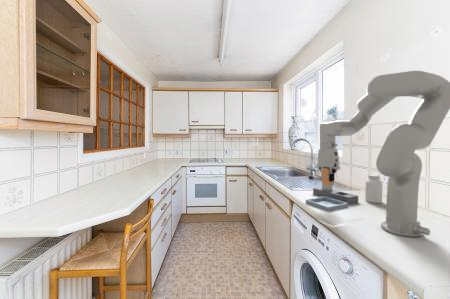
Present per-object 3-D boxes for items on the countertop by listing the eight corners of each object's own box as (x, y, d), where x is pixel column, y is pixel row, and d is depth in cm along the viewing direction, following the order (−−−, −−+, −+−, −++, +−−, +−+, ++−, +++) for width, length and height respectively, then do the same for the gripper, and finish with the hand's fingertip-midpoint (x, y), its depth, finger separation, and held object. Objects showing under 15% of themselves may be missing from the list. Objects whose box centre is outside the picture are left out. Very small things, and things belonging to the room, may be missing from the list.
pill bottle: (371, 198, 129) (372, 173, 129) (385, 202, 122) (386, 176, 121) (361, 200, 127) (362, 174, 126) (375, 204, 119) (375, 177, 118)
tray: (348, 208, 113) (348, 203, 113) (328, 212, 107) (328, 207, 107) (324, 200, 126) (324, 196, 126) (305, 204, 120) (305, 199, 120)
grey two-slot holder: (358, 203, 120) (358, 195, 120) (348, 205, 117) (348, 197, 117) (322, 193, 142) (322, 186, 142) (313, 195, 138) (313, 188, 138)
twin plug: (332, 197, 133) (332, 179, 132) (327, 198, 131) (327, 180, 131) (326, 195, 137) (326, 178, 136) (321, 196, 135) (322, 179, 134)
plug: (333, 185, 114) (333, 164, 114) (328, 186, 113) (328, 164, 112) (327, 184, 118) (327, 163, 118) (322, 184, 116) (321, 164, 116)
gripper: (347, 145, 109) (347, 182, 109) (319, 145, 124) (320, 177, 124) (336, 146, 105) (337, 183, 106) (309, 146, 121) (310, 179, 121)
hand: (327, 180), depth 115 cm, fingers closed on plug, 4 cm apart
